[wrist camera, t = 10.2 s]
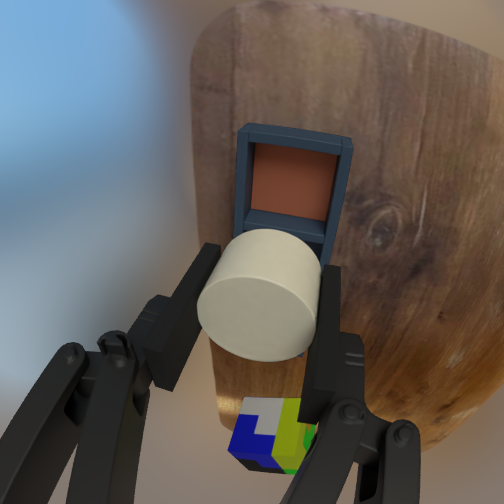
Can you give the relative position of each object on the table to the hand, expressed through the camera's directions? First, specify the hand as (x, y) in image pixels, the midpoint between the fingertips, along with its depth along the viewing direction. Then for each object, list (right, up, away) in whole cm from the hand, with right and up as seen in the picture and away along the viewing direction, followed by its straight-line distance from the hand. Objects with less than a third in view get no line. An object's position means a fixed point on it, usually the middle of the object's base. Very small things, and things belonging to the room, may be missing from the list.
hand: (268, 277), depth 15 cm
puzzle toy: (+4, -25, +32) cm, 41 cm away
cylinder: (0, 0, 0) cm, 0 cm away
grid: (+2, +1, +14) cm, 14 cm away
